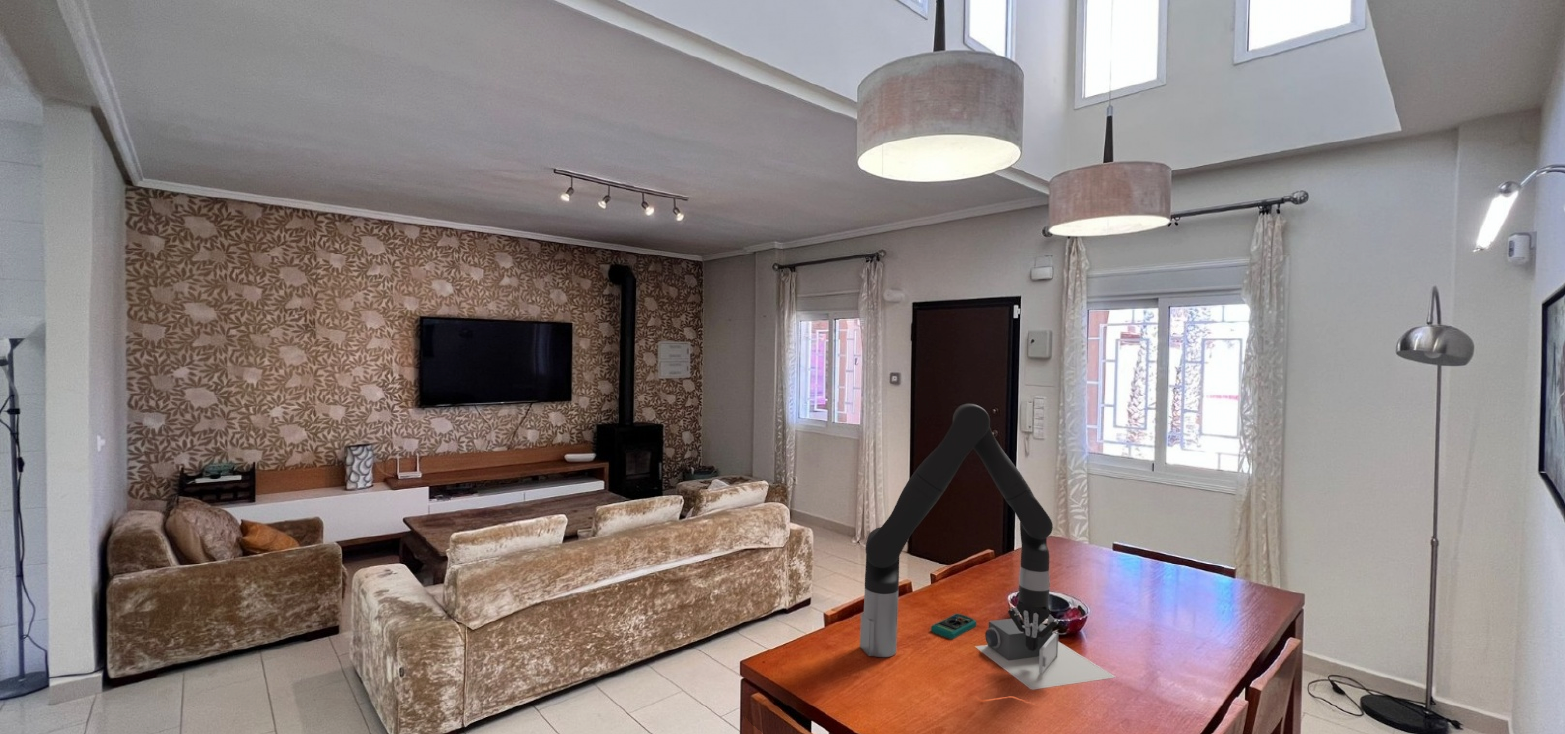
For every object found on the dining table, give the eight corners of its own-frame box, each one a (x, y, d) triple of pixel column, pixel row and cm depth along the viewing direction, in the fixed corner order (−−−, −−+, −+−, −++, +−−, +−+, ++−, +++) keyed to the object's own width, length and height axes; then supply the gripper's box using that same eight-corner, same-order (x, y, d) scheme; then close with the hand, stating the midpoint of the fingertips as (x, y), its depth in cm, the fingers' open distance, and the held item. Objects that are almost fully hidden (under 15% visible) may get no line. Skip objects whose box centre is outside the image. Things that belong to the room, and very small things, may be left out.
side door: (1053, 653, 176) (1054, 630, 175) (1059, 655, 175) (1060, 632, 175) (1037, 673, 164) (1038, 648, 164) (1044, 675, 163) (1045, 650, 163)
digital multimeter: (977, 628, 194) (978, 618, 194) (951, 642, 183) (952, 632, 183) (956, 620, 199) (956, 611, 199) (929, 634, 188) (930, 624, 188)
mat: (1031, 691, 156) (1031, 689, 156) (974, 647, 179) (974, 646, 179) (1116, 678, 164) (1116, 677, 164) (1051, 638, 187) (1051, 637, 187)
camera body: (1003, 661, 171) (1004, 632, 171) (983, 646, 179) (984, 618, 179) (1051, 654, 175) (1052, 626, 175) (1029, 640, 184) (1030, 613, 184)
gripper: (1004, 582, 170) (1002, 646, 170) (1056, 594, 162) (1054, 662, 162) (1013, 575, 176) (1011, 637, 176) (1064, 586, 168) (1062, 652, 168)
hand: (1031, 649), depth 169 cm, fingers closed
